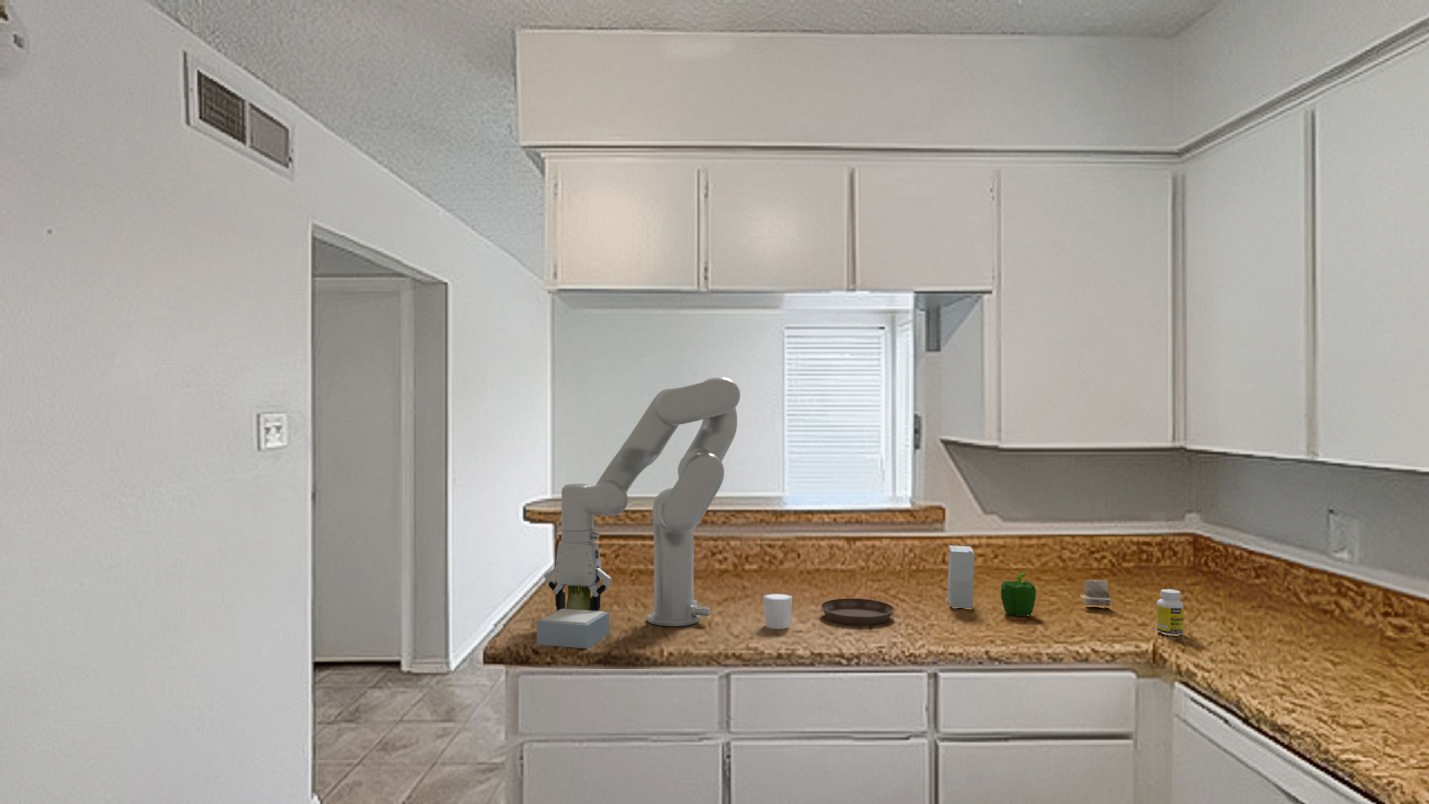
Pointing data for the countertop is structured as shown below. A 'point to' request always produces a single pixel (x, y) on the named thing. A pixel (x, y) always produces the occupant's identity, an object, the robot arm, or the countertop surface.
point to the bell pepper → (1018, 596)
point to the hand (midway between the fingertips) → (577, 611)
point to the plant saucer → (857, 611)
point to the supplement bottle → (1170, 612)
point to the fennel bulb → (579, 598)
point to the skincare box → (960, 576)
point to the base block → (573, 628)
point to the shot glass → (777, 610)
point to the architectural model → (1096, 593)
